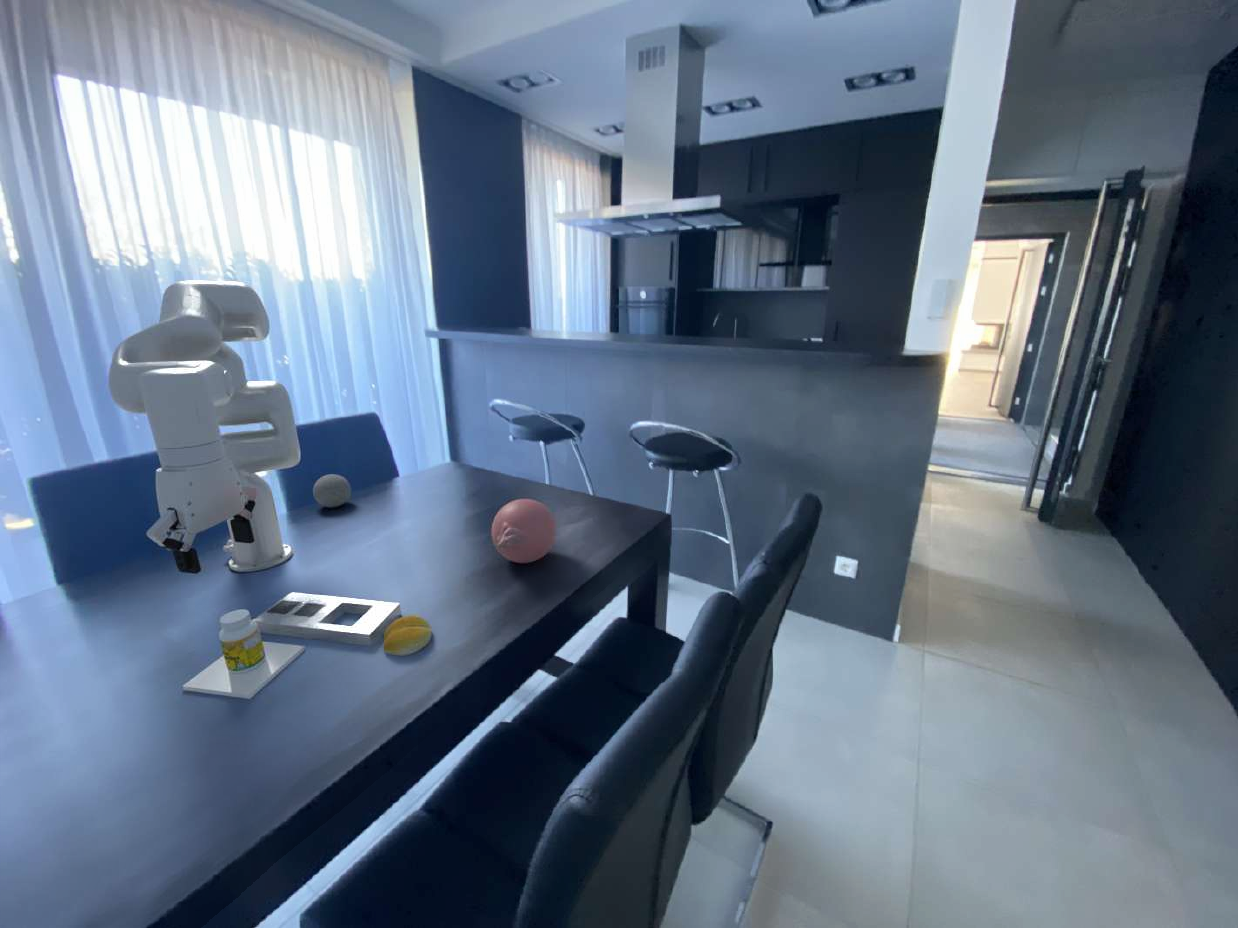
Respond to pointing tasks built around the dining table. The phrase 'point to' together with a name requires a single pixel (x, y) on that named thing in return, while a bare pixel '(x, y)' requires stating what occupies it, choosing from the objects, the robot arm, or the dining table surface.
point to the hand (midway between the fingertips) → (219, 556)
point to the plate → (247, 683)
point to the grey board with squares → (328, 618)
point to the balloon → (523, 530)
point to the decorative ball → (332, 490)
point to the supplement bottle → (241, 642)
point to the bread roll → (406, 635)
